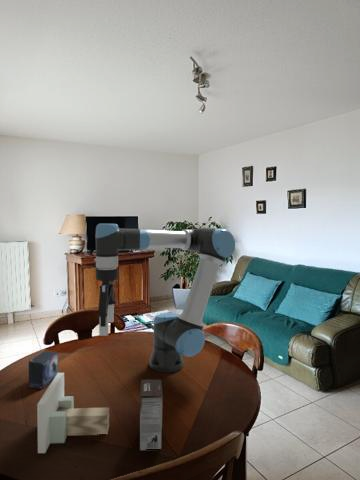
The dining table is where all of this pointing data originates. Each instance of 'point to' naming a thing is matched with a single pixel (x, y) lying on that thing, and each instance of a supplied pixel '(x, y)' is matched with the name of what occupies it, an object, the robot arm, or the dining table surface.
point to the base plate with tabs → (53, 414)
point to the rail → (86, 421)
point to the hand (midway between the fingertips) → (106, 328)
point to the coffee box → (151, 414)
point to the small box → (43, 369)
